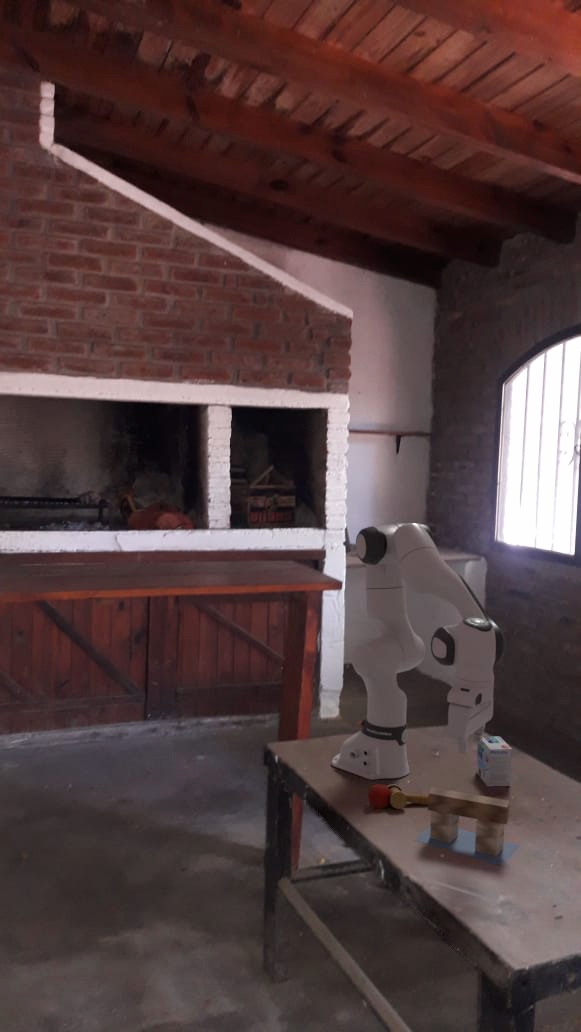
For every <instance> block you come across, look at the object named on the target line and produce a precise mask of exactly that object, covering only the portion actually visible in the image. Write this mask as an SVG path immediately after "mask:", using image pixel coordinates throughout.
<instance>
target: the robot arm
mask: <svg viewBox="0 0 581 1032" xmlns="http://www.w3.org/2000/svg"><path fill="white" fill-rule="evenodd" d="M355 551H356V555H357V557H358V559H359V560H360V561H361V563H363V564H366V566H365V567H366V568H365V595H366V596H365V597H366V613H367V615H368V617H369V618H370V619H371V620H372V621H373V622H375V623H376V625H377V628H378V631H379V634H380V636H379V637H372V638H369V639H367V640H364V641H363V642H361V643H359V644H357V645H356V646H355V647H354V648H353V650H352V653H351V664H352V667H353V669H354V672H356V674H357V675H358V676H360V677H361V678H362V680H363V683H364V686H365V689H366V694H367V711H366V712H367V714H366V717H365V718H364V719H362V720H361V721H359V722H358V727H359V728H360V727H361V730H359V731H358V732H356V733H355V734H353V735H351V736H350V737H348V738H347V739H346V740H345V741H343V743H342V745H341V747H340V751H339V752H340V753H338V754H336V755H334V756H333V758H332V760H331V766H333V767H335V768H338V769H341V770H344V771H346V772H349V773H351V774H354V775H357V776H360V777H363V778H365V779H366V780H367V779H368V780H372V781H373V780H379V779H380V780H381V779H399V778H402V777H405V776H407V775H409V773H410V771H411V770H410V767H409V763H408V757H407V745H406V744H407V741H408V740H407V738H408V722H407V708H408V707H407V705H408V703H407V702H408V698H407V694H406V693H405V692H404V690H402V689H401V688H400V687H399V686H398V685H399V684H398V680H397V676H398V675H397V674H399V673H403V672H408V671H410V670H413V669H415V668H416V667H417V666H419V665H420V664H421V663H423V661H424V660H425V657H426V646H425V643H424V640H422V638H421V637H420V636H419V635H417V634H416V632H415V631H414V629H413V627H412V624H411V622H410V619H409V615H408V612H407V602H406V587H405V584H406V585H407V586H408V587H409V589H411V590H413V592H414V591H415V592H416V593H419V594H420V595H426V596H431V597H433V598H437V599H440V600H443V601H445V602H447V603H449V604H451V605H452V606H453V607H455V608H456V610H457V611H458V613H459V615H460V616H461V618H462V619H461V620H460V621H459V622H458V623H455V624H450V625H445V626H440V627H438V628H437V629H436V630H435V631H434V633H433V635H432V638H431V640H430V651H431V655H432V657H433V658H434V659H435V661H436V662H438V664H440V665H442V666H445V667H454V668H455V674H454V681H453V683H452V687H451V689H450V690H449V691H448V693H447V697H446V698H447V699H446V700H447V703H449V706H448V713H447V714H448V715H447V719H448V720H447V724H448V725H447V729H448V730H447V731H448V735H449V737H450V738H452V739H456V741H457V746H458V750H457V752H458V753H459V754H461V755H466V754H467V753H468V752H469V745H468V740H469V738H468V737H469V736H471V735H472V741H473V742H474V743H477V744H478V743H479V742H481V741H482V737H484V736H483V735H484V731H485V728H486V724H487V723H488V722H489V721H490V720H492V718H493V716H494V688H495V687H494V686H495V685H494V683H495V675H494V666H496V665H497V664H498V663H499V662H500V661H501V660H502V658H503V657H504V655H505V653H506V651H507V640H506V637H505V635H504V633H503V631H502V630H501V628H500V627H499V626H498V625H497V624H496V623H495V621H493V619H491V617H490V616H489V615H488V613H487V611H486V610H485V609H484V607H483V605H482V604H481V602H480V600H479V599H478V597H477V596H476V594H475V592H473V590H472V589H471V587H470V586H469V584H468V583H467V581H466V580H465V578H463V576H461V575H460V574H459V573H457V572H456V571H454V570H453V569H452V568H451V567H450V566H449V565H448V564H447V562H445V560H444V559H443V557H442V556H441V555H440V552H439V550H438V548H437V546H436V543H435V537H434V535H433V531H432V530H431V528H430V527H429V526H428V525H427V524H422V523H417V522H408V523H406V522H405V523H399V522H398V523H392V524H385V525H378V526H374V525H372V526H368V527H364V528H361V529H360V530H359V532H358V533H357V535H356V539H355Z"/></svg>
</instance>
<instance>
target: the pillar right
mask: <svg viewBox="0 0 581 1032" xmlns="http://www.w3.org/2000/svg"><path fill="white" fill-rule="evenodd" d="M475 822H476V823H475V824H476V825H475V833H476V839H475V851H478V852H481V853H485V854H488V855H492V856H495V857H497V855H498V854H499V853H500V852H501V850H502V849H503V844H504V842H505V838H504V837H505V825H506V824H501V823H495V822H490V821H485V820H479V819H476V821H475Z"/></svg>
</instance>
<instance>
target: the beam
mask: <svg viewBox="0 0 581 1032" xmlns="http://www.w3.org/2000/svg"><path fill="white" fill-rule="evenodd" d="M428 795H429V796H428V805H427V811H430V812H431V811H436V812H441V813H447V814H452V815H458V816H459V817H462V818H464V817H465V818H471V819H475V820H478V819H479V820H485V821H490V822H495V823H501V824H505V825H507V824H508V822H509V821H508V820H509V818H510V800H509V799H508V800H507V799H501V798H497V797H490V796H484V795H480V794H479V795H478V794H474V793H473V794H472V793H468V792H467V793H466V792H461V791H457V790H456V791H455V790H450V789H445V788H439V787H431V789H430V790H429V792H428Z"/></svg>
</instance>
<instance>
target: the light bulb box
mask: <svg viewBox="0 0 581 1032" xmlns="http://www.w3.org/2000/svg"><path fill="white" fill-rule="evenodd" d="M476 752H477V755H476V769H475V773H476V774H477V775H478V776H479V778H480V779H481V780H482V781H483V783H484V784H485V786H486V787H493V786H510V787H511V772H512V771H511V769H512V756H513V755H512V754H513V748H512V747H510V745H509V744H508V743H507V742H506V741H505V740H504V739H503V738H502V737H501V736H498V735H497V736H496V735H495V736H492V735H491V736H482V741H481V742H479V743H478V742H477V750H476Z"/></svg>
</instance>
